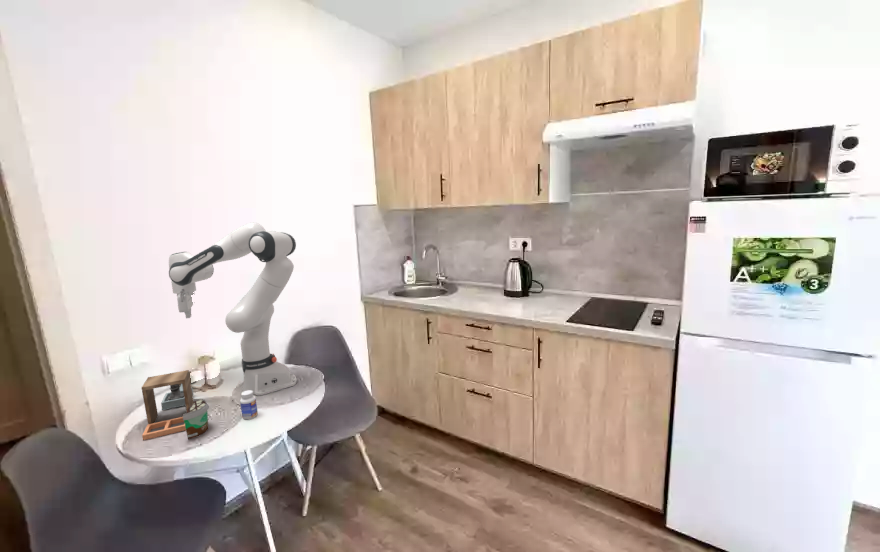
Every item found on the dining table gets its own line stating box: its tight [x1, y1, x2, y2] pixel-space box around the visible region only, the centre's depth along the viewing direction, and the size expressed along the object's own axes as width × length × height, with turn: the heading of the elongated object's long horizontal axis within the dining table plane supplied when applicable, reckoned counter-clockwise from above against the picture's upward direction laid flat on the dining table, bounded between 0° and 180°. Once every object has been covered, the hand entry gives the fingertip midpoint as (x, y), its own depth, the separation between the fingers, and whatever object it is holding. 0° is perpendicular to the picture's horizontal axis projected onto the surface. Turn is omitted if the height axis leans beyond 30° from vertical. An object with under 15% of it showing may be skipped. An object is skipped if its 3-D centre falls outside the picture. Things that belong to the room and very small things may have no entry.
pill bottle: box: [239, 390, 258, 420], centre depth 146 cm, size 5×5×10 cm
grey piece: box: [160, 371, 195, 411], centre depth 167 cm, size 10×26×5 cm, turn 26°
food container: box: [182, 398, 210, 440], centre depth 138 cm, size 12×6×10 cm, turn 17°
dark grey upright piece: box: [168, 384, 184, 401], centre depth 158 cm, size 6×6×12 cm
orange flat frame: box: [141, 416, 186, 441], centre depth 140 cm, size 13×8×2 cm, turn 116°
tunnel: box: [141, 369, 194, 425], centre depth 147 cm, size 13×10×16 cm
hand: (188, 317), depth 175 cm, fingers closed
